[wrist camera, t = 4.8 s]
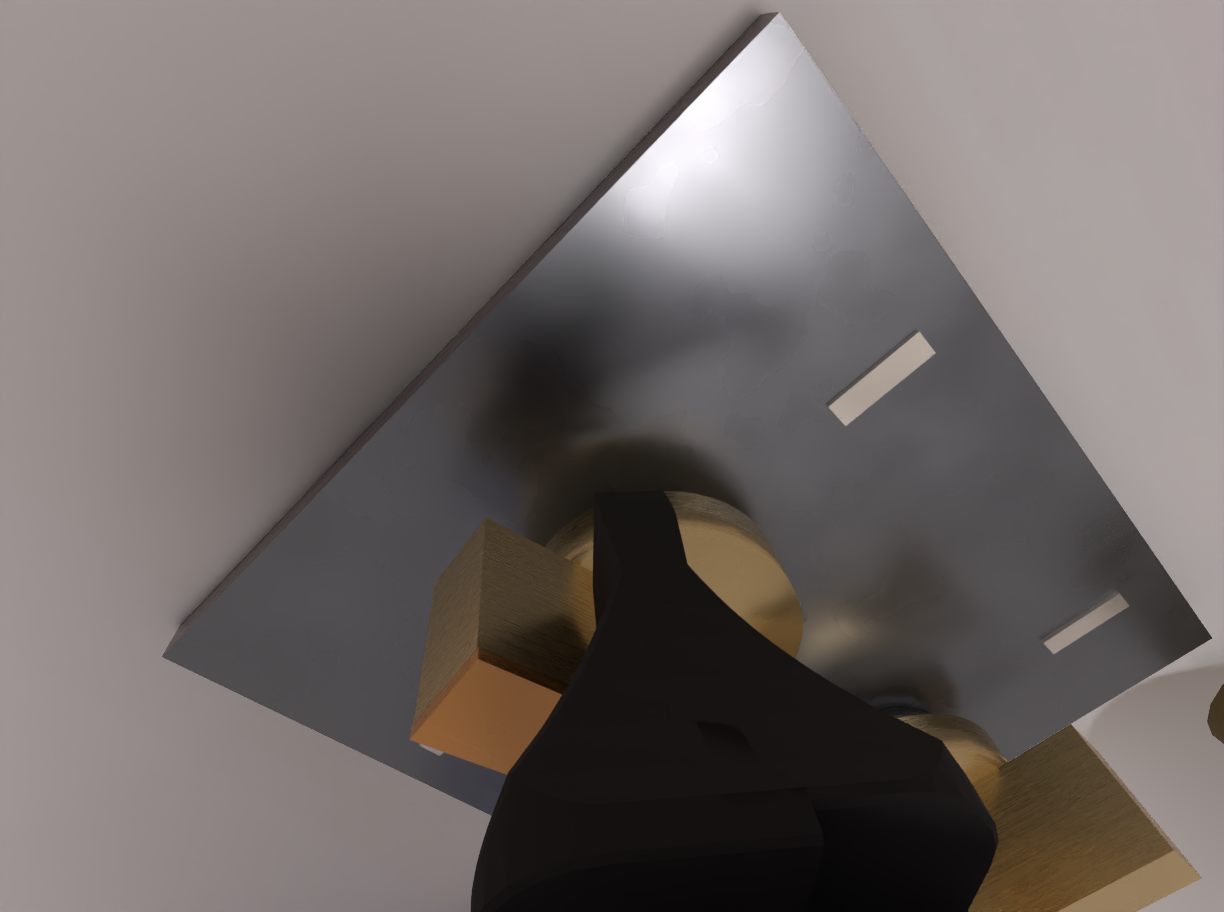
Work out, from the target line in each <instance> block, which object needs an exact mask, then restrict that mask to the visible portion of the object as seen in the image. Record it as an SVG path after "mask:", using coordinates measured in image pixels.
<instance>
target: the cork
mask: <svg viewBox="0 0 1224 912" xmlns="http://www.w3.org/2000/svg"><path fill="white" fill-rule="evenodd" d="M1207 722H1208V725H1209V727H1210V730H1211V732H1212V735H1213V736H1215V737H1216V738H1217V739H1218V740H1220V741H1221V742H1222V743H1223V744H1224V684H1223V685H1222V687H1221V688H1220V690H1219V692H1218V693H1217V695H1216V697H1215V698H1214V700H1213V702H1212V703H1211V705H1210V710H1209V716H1208V721H1207Z"/></svg>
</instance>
